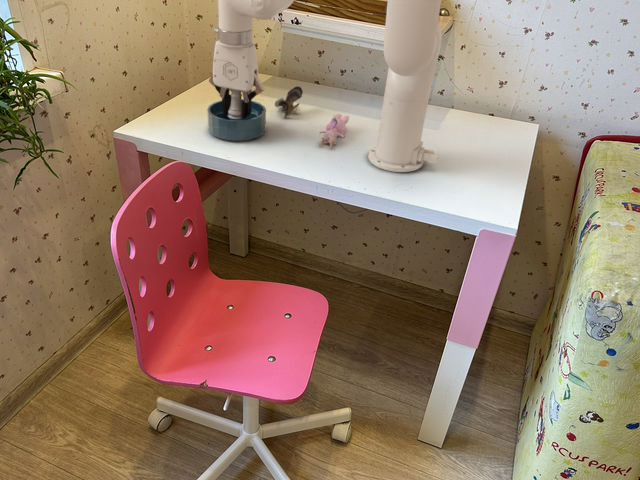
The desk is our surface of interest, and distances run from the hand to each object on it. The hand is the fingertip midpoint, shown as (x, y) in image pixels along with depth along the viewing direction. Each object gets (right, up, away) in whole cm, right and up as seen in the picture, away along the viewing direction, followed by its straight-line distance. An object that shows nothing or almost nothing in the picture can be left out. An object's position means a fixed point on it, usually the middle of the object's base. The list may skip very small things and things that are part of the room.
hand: (236, 113), depth 137 cm
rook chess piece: (0, -1, +1) cm, 1 cm away
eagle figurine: (+13, +4, +13) cm, 19 cm away
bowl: (0, -3, +3) cm, 4 cm away
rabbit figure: (+24, -5, +2) cm, 25 cm away
